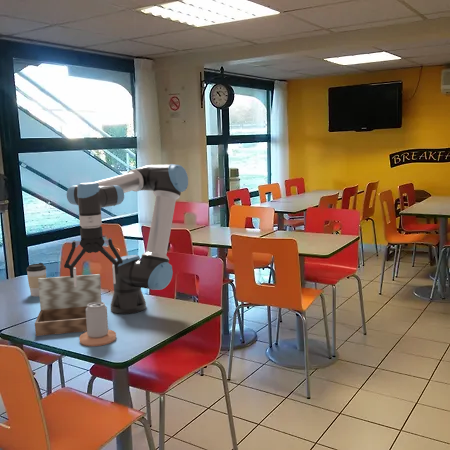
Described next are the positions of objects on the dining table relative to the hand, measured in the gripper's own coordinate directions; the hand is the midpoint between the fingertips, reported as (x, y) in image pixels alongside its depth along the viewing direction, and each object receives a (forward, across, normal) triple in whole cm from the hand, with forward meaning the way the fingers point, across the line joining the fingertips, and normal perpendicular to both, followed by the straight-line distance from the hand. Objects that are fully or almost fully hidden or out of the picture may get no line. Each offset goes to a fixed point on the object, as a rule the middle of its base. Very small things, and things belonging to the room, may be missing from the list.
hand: (95, 284), depth 181 cm
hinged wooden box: (+21, -11, +18) cm, 29 cm away
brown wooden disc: (+20, 0, 0) cm, 21 cm away
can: (+19, 0, 0) cm, 19 cm away
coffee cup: (+21, -30, +68) cm, 78 cm away
